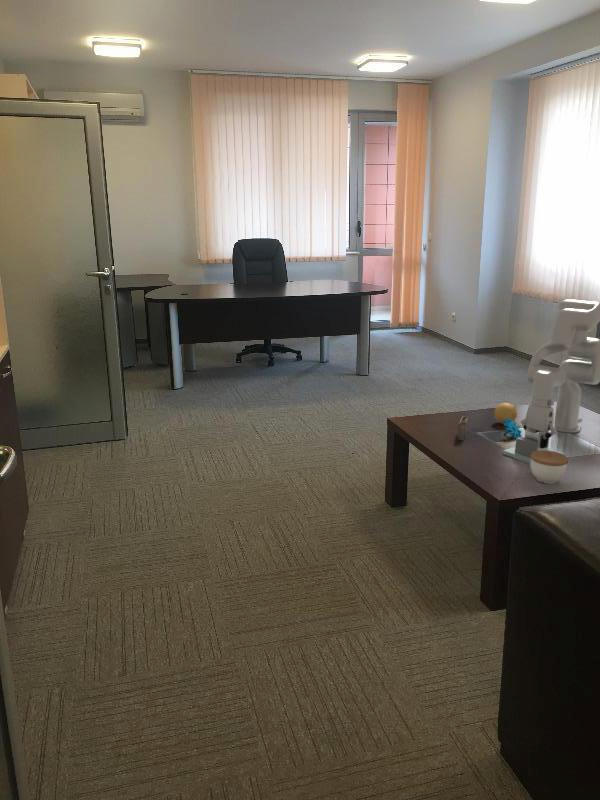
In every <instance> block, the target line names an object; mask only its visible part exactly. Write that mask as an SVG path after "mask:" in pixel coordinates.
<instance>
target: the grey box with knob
mask: <svg viewBox="0 0 600 800" xmlns="http://www.w3.org/2000/svg"><path fill="white" fill-rule="evenodd" d="M550 432H551V431H549V433H550ZM545 433H546V432H545ZM523 438H526V439H529V440H532V441H535V442H538V450H537V451H539V450H547V451H548V448H549V443H550V438H548V445H547V447H546V448H543V449H542V448H541V441H542V439H543V434H542V432H541V431H538V430H535V429H528V430H524V437H523Z"/></svg>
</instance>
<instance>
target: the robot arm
mask: <svg viewBox="0 0 600 800" xmlns="http://www.w3.org/2000/svg"><path fill="white" fill-rule="evenodd" d="M598 323H600V302H599V301H594V300H593V301H592V300H581V299H580V300H579V299H563V300H561V301H560V302H559V304H558V313H557V314H556V318H555V320H554V324H553V327H552V331H551V334H550V338H549V340H548V341H547V342H546V343H544V344H543V345H542V346H541V347H539V348H538V349H537V350H536V351H535V352H534V354H533V355H532V358H531V359H530V362H529V365H528V370H527V373H526V377H527V380H528V381H529V382H530V383H531V384H532V392H531V400H530V403H529V405H528V407H527V411H526V416H525V418H524V419H522V420H521V421H520V423H521V425H522V428H523V430H524V431H525V430H528V429H535V430H538V431H541V432H542V434H543V439H542V441H541V448H542V449H543V448H546V447H547V445H548V438H549V439H551V437H553V436H554V435H555V434H557V432H561V433H568V434H569V433H571V434H573V433H574V434H575V433H579V432H580V431H581V427H580V426H579V425H578V424H579V423H582V422H583V418H582V417H579V413H580V405H581V401H582V400H581V398H582V389H581V387H580V384H585V385H594V386H595V385H598V384H600V338H596V337H589V336H588V332H591V331H593V330H594V328H596V327H597V326H598ZM561 352H564V354H565V355H566V357H569V358H571V359H565V360H562V361H561V362H560V364H559V366H558V367H554V366H548V365H541V364H540V363H541V362H542V361H543V360H544V359H545V358H546V357H549V356H551V355H554V354H557V353H561ZM572 358H573V359H572ZM583 360H585V361H583ZM579 383H580V384H579ZM554 388H558V391H557V399H556V400H557V401H556V407H555V411H554V407H553V406H554V405H555V402H554V401H553V395H554ZM554 412H555V413H554ZM549 431H550V433H549ZM545 432H546V433H545ZM548 446H549V445H548Z"/></svg>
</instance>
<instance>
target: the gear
mask: <svg viewBox="0 0 600 800" xmlns="http://www.w3.org/2000/svg"><path fill="white" fill-rule="evenodd" d="M512 421H513V420H512V419H510V420H509V419H508V418H507V419H506V420H505V421H504V422H505V424H504V425H503V426H504V427H506V428H505V430H506V431H505V432H503V433H502V434H503V435H504V436H506V435H507V434H509V435H510V436H512V437H513V438H514V439H516V438H519V437H523V435H522V430H520V428H521V425H519V424H518V425H517V422H516V421H513V422H512Z"/></svg>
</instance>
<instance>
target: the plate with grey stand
mask: <svg viewBox="0 0 600 800" xmlns="http://www.w3.org/2000/svg"><path fill="white" fill-rule="evenodd" d="M537 450H538V442H535V441H532V440H529V439H526V438H524V437H523V436H521V437H519V438H515V446H514V447H511V448H506V449H503V451H502V454H503V455H504V456H508V457H511V458H513V459H516V460H517V461H518V460H519V461H521V462H524V463H526V464H529V465H530V461H531V453H532V452H534V451H537ZM548 451H554V452H558V453H561V454H563V455H565V456H566V457H567V455H566V453H565V452H562V451H558V450H555V449H552V448H549V447H548Z"/></svg>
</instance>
